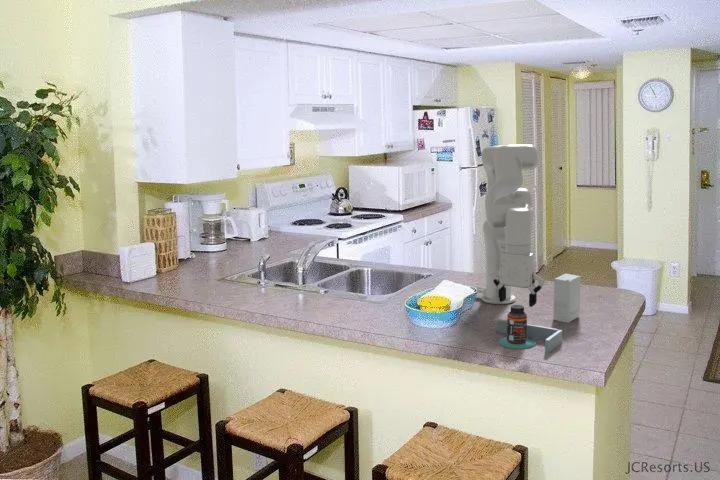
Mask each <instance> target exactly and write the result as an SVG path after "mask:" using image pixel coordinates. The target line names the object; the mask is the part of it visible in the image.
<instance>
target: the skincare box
mask: <svg viewBox="0 0 720 480" xmlns="http://www.w3.org/2000/svg"><path fill="white" fill-rule="evenodd" d="M581 279H582V278H581V275H577V274H570V273H563V274H562V275H560V276H557V277H555V278H554V285H553V287H554V288H553V318H552V319H553V320H554V321H558V322H563V323H568V324H569V323H571V322H572V321H574V320H576V319H578V318H579V317H580V309H581V308H580V301H581Z"/></svg>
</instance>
